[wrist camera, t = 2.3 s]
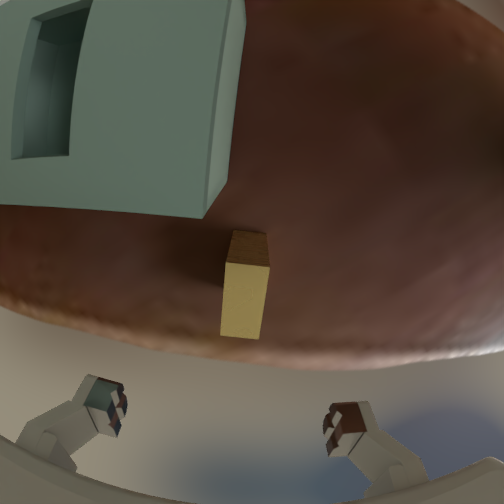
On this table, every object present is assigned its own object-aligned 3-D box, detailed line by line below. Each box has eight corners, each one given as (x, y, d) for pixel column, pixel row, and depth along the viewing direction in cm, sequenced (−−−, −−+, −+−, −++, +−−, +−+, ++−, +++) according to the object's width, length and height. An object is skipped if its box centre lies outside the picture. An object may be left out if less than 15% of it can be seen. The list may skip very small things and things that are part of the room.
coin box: (246, 23, 16) (239, -54, 7) (227, 181, 20) (202, 219, 11) (59, 41, 15) (-21, 18, 6) (45, 173, 20) (-40, 202, 10)
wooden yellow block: (266, 233, 22) (269, 267, 16) (258, 292, 24) (258, 339, 18) (233, 229, 22) (225, 262, 16) (228, 289, 23) (220, 335, 18)
